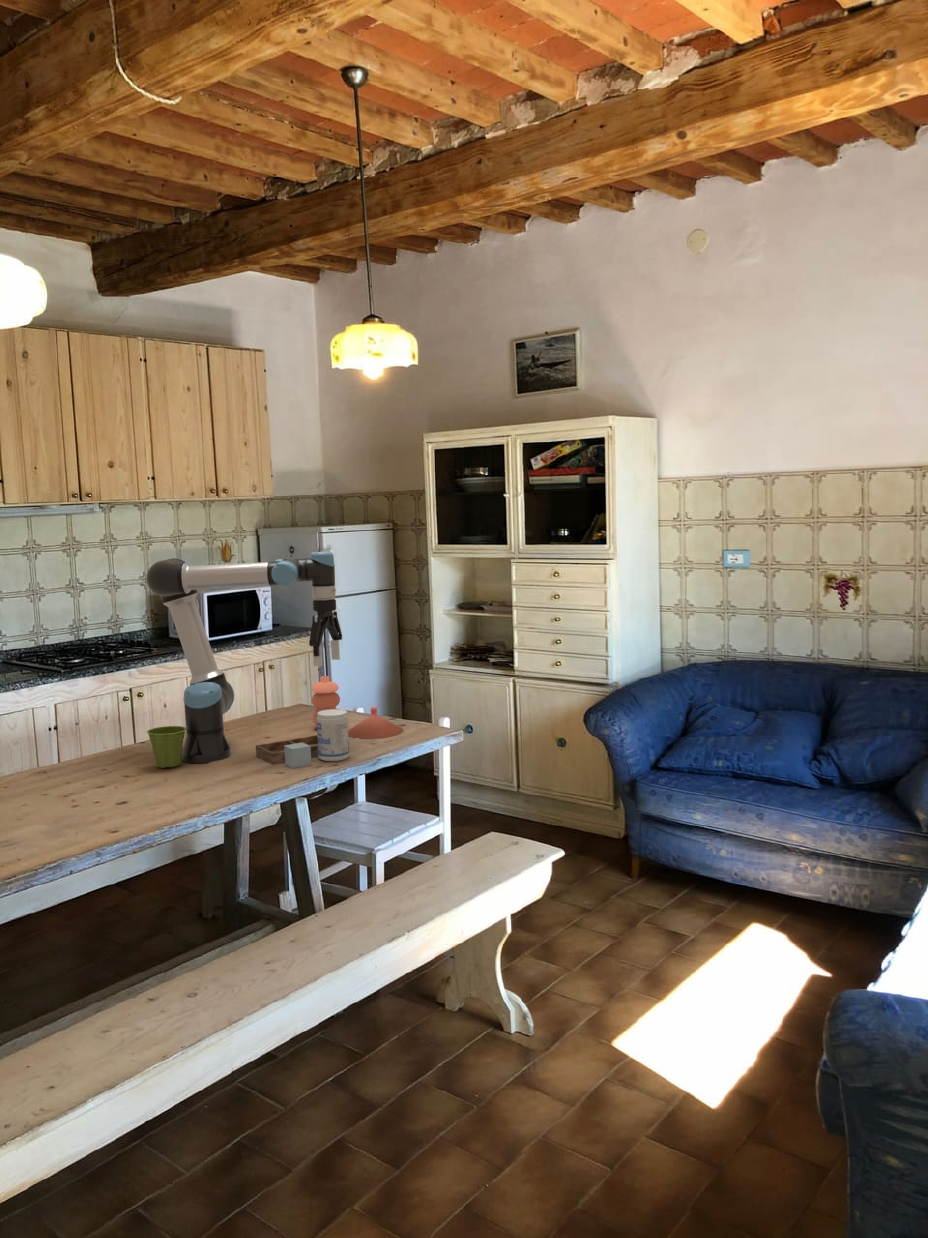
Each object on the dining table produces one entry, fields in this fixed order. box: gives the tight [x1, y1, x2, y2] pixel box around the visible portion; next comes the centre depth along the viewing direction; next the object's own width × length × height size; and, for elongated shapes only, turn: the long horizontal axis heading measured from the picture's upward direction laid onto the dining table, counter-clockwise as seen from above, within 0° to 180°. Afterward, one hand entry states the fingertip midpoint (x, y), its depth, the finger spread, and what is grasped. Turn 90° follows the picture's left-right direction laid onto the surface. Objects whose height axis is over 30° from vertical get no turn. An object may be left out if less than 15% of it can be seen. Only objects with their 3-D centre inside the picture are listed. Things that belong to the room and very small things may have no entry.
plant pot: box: [146, 725, 186, 769], centre depth 310 cm, size 12×12×11 cm
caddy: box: [255, 735, 350, 765], centre depth 320 cm, size 26×14×3 cm, turn 123°
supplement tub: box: [316, 708, 350, 762], centre depth 312 cm, size 10×10×15 cm
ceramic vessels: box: [311, 675, 405, 740], centre depth 348 cm, size 35×21×19 cm, turn 65°
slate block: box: [284, 742, 312, 769], centre depth 306 cm, size 6×6×6 cm
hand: (327, 662), depth 331 cm, fingers open, 13 cm apart
